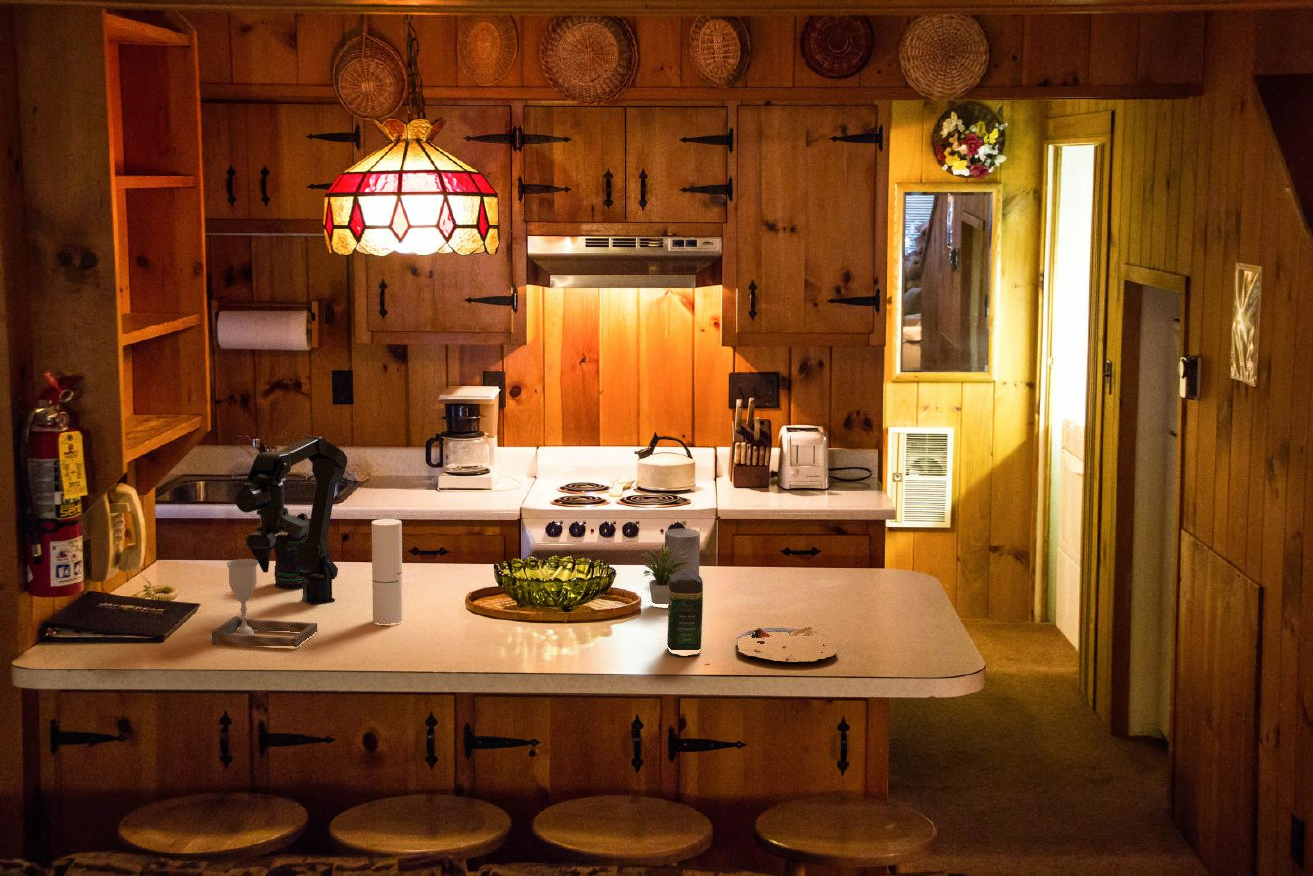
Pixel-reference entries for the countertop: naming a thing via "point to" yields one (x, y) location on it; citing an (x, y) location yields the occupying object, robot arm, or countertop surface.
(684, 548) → the pillar candle
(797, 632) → the food plate
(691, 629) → the coffee jar
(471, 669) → the countertop surface
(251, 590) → the chalice
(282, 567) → the storage jar
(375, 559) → the cylindrical container
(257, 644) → the rectangular frame
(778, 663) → the countertop surface
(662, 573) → the house plant
